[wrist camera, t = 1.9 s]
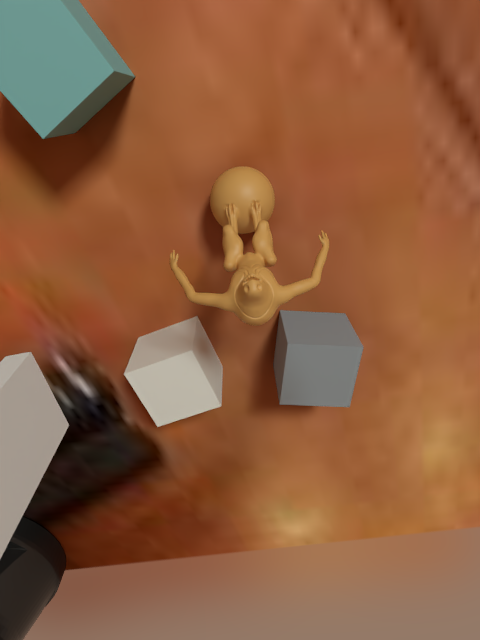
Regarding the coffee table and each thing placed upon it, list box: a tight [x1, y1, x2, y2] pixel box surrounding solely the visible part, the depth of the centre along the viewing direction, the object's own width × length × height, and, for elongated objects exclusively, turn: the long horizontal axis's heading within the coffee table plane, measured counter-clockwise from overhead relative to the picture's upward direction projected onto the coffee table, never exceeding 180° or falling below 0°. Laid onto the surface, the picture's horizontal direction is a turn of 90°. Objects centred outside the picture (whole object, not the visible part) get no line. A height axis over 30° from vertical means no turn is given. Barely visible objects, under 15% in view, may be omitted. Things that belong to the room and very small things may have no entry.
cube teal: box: [0, 0, 135, 139], centre depth 22 cm, size 5×5×5 cm
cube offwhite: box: [124, 316, 223, 427], centre depth 31 cm, size 5×5×5 cm
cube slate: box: [273, 310, 363, 407], centre depth 30 cm, size 5×5×5 cm
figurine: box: [170, 166, 329, 326], centre depth 22 cm, size 8×6×12 cm
